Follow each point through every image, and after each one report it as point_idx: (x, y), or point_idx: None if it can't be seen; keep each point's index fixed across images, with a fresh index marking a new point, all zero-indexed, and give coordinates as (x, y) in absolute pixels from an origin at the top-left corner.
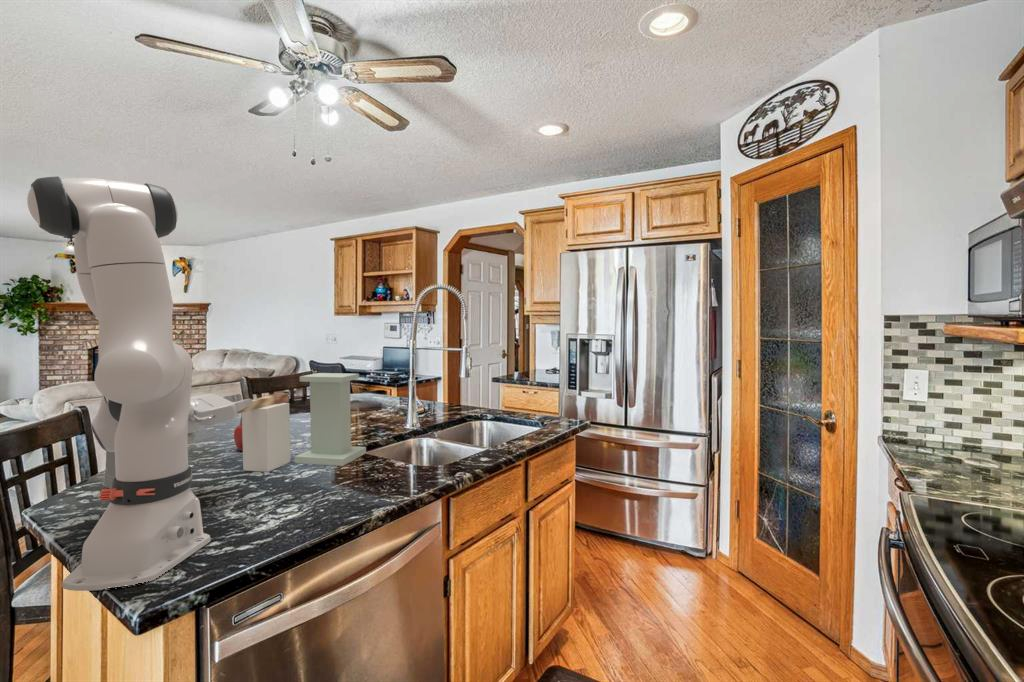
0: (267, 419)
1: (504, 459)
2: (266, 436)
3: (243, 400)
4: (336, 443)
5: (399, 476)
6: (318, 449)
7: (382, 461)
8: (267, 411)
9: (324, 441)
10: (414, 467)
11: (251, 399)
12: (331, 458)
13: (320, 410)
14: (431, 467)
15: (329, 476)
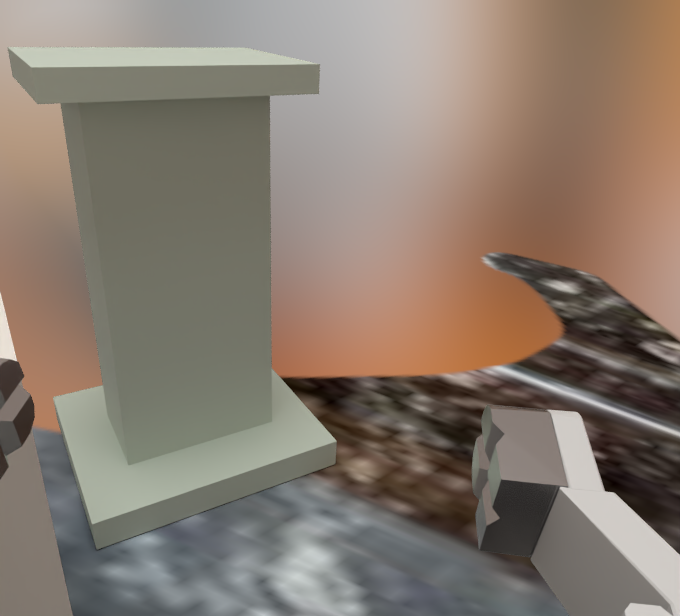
0: (33, 437)
1: (593, 275)
2: (49, 544)
3: (591, 494)
4: (252, 385)
5: (598, 428)
6: (166, 437)
7: (392, 384)
8: (21, 382)
9: (195, 395)
10: (527, 373)
11: (572, 416)
12: (286, 456)
13: (165, 261)
14: (557, 355)
15: (433, 550)
